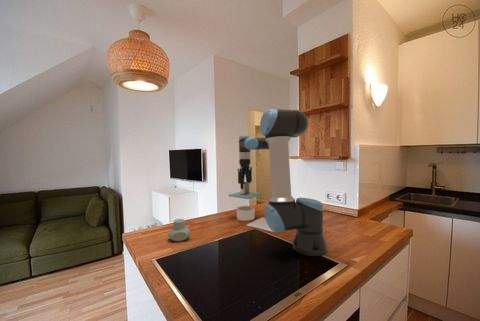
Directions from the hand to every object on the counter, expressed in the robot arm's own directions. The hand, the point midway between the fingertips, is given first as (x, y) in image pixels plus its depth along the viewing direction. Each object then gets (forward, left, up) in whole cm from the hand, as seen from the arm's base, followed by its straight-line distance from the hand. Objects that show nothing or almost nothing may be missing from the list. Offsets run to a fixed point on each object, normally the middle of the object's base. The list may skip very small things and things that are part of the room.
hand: (245, 192), depth 145 cm
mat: (-2, -18, -18) cm, 25 cm away
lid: (0, 0, -2) cm, 2 cm away
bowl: (0, 0, -18) cm, 18 cm away
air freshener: (-48, +8, -18) cm, 52 cm away
